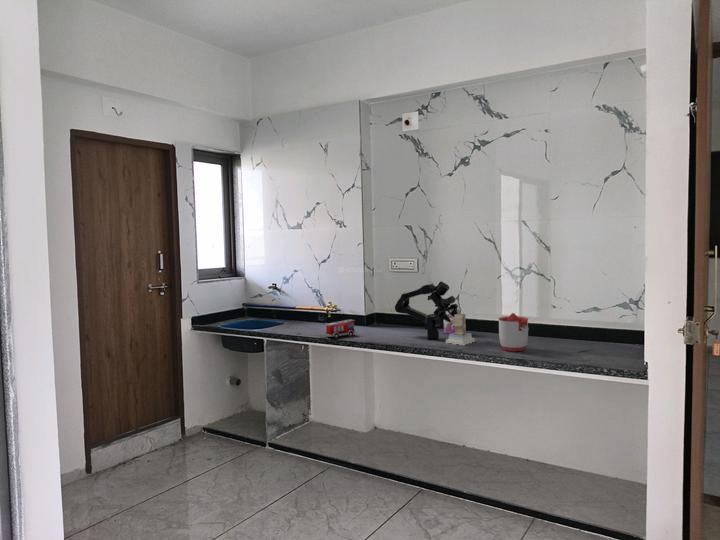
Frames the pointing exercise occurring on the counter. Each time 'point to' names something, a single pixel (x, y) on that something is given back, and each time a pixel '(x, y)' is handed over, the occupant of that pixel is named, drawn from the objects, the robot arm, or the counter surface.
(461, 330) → the birch block
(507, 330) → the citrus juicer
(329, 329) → the toy fire truck
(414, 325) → the counter surface
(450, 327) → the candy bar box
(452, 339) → the tower base
